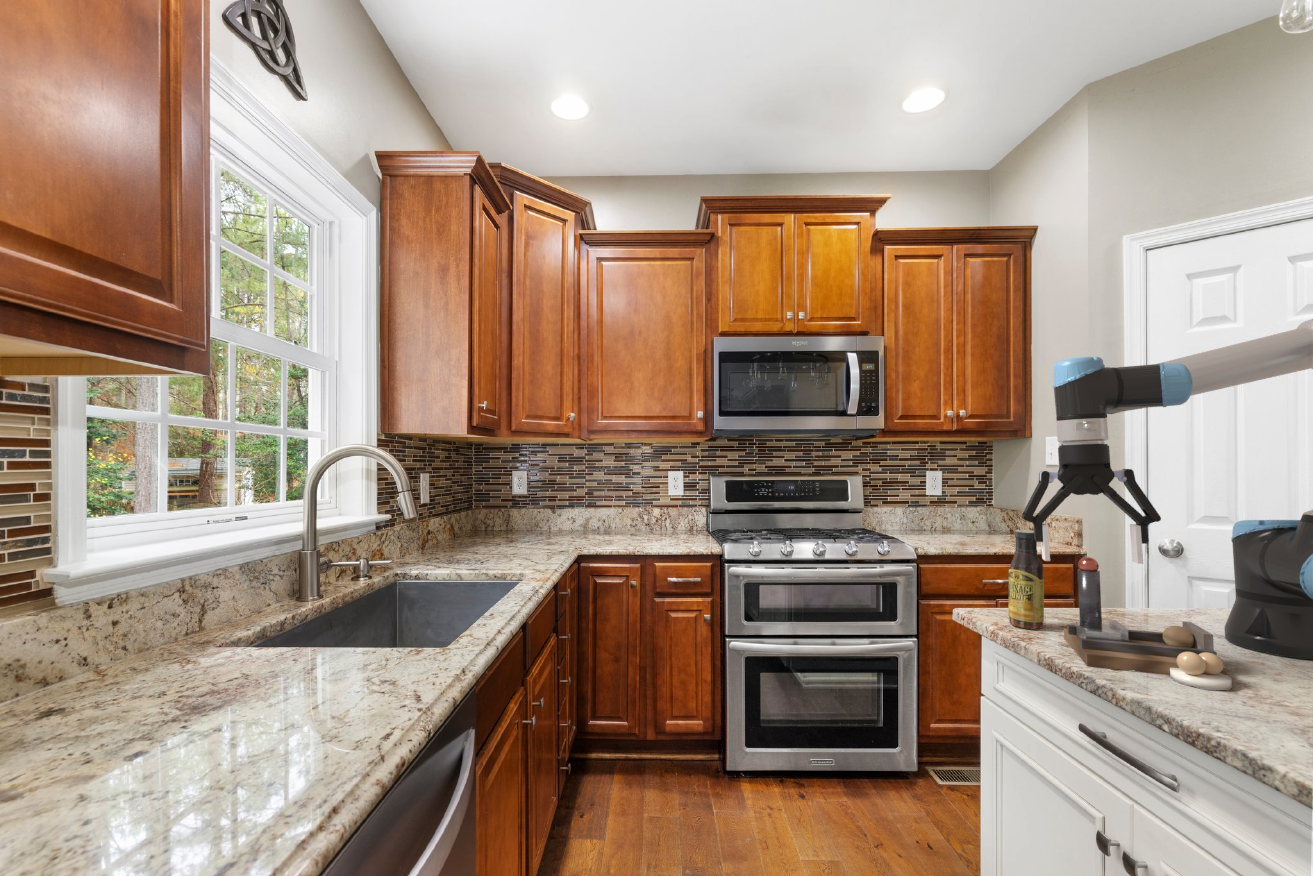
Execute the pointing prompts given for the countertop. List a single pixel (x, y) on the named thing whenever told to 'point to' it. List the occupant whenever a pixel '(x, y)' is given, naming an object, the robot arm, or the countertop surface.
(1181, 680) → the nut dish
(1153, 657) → the tray
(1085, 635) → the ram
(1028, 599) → the sauce bottle
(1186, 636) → the walnut
